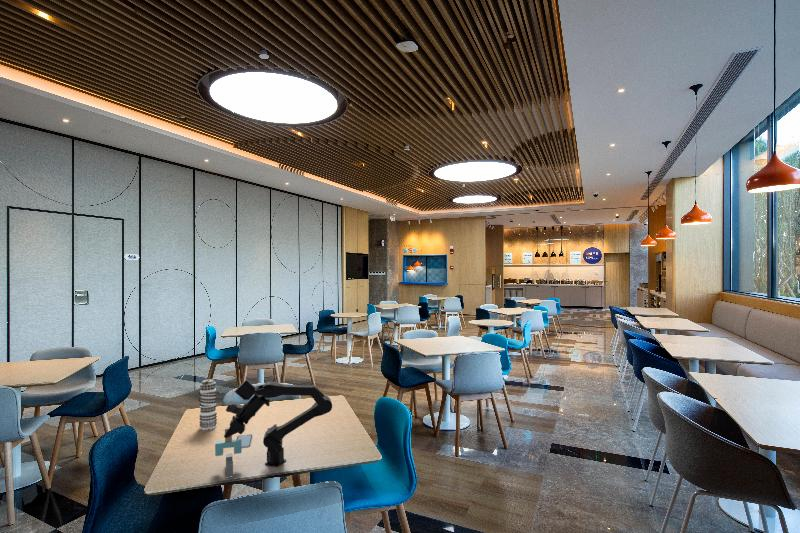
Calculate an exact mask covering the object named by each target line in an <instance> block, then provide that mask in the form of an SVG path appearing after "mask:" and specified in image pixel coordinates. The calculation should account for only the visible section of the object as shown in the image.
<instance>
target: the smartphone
mask: <svg viewBox="0 0 800 533" xmlns="http://www.w3.org/2000/svg"><path fill="white" fill-rule="evenodd" d="M253 436H254V434H253V433H251V434H243V435H242V434H240V435H237V436H236V439H235V440H237V439H242V449H244V448H250V447H251V444H252V440H253Z"/></svg>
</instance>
